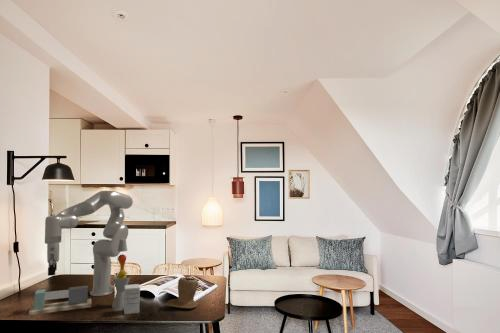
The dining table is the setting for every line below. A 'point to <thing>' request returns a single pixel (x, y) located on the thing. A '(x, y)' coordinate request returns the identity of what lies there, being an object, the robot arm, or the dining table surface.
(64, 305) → the base board
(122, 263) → the lava lamp
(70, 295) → the sleeve
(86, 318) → the dining table surface
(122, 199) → the robot arm
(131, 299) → the supplement box
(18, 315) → the dining table surface
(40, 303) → the socket block
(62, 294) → the tube
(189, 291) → the brown boot
